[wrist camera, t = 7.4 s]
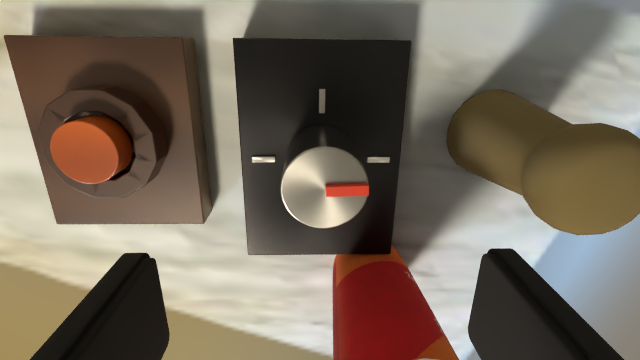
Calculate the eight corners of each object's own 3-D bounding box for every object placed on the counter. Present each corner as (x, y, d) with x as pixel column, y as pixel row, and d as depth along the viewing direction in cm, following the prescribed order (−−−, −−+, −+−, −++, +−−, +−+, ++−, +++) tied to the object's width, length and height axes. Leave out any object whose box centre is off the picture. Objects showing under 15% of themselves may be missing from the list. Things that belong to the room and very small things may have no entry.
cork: (516, 177, 26) (650, 261, 16) (438, 169, 26) (523, 251, 16) (544, 94, 24) (717, 131, 14) (458, 84, 24) (573, 115, 14)
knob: (287, 192, 23) (282, 233, 18) (284, 125, 21) (276, 149, 16) (355, 190, 23) (368, 230, 18) (356, 123, 21) (371, 147, 16)
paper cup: (388, 315, 31) (447, 517, 17) (305, 288, 29) (303, 484, 16) (432, 242, 28) (539, 413, 15) (343, 209, 27) (377, 364, 14)
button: (63, 114, 20) (41, 120, 19) (127, 114, 20) (111, 121, 19) (77, 173, 21) (58, 184, 20) (138, 173, 22) (124, 184, 20)
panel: (242, 38, 22) (232, 37, 19) (399, 41, 23) (412, 40, 20) (254, 233, 27) (247, 256, 24) (382, 233, 28) (391, 255, 25)
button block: (31, 36, 22) (-26, 34, 18) (194, 38, 22) (171, 36, 19) (76, 210, 26) (37, 238, 22) (212, 210, 27) (196, 237, 23)
